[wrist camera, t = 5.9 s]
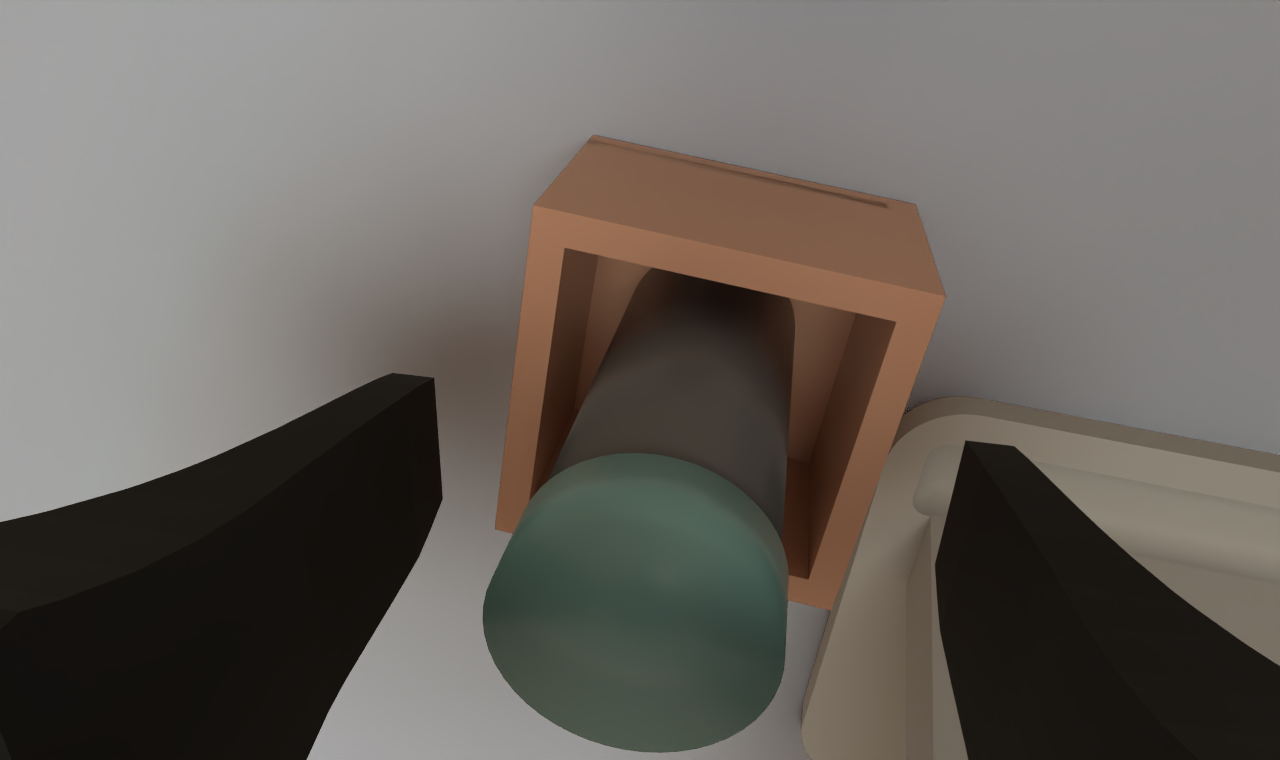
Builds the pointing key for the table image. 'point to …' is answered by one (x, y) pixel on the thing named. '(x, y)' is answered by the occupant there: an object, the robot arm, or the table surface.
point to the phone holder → (1099, 486)
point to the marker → (660, 530)
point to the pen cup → (745, 257)
